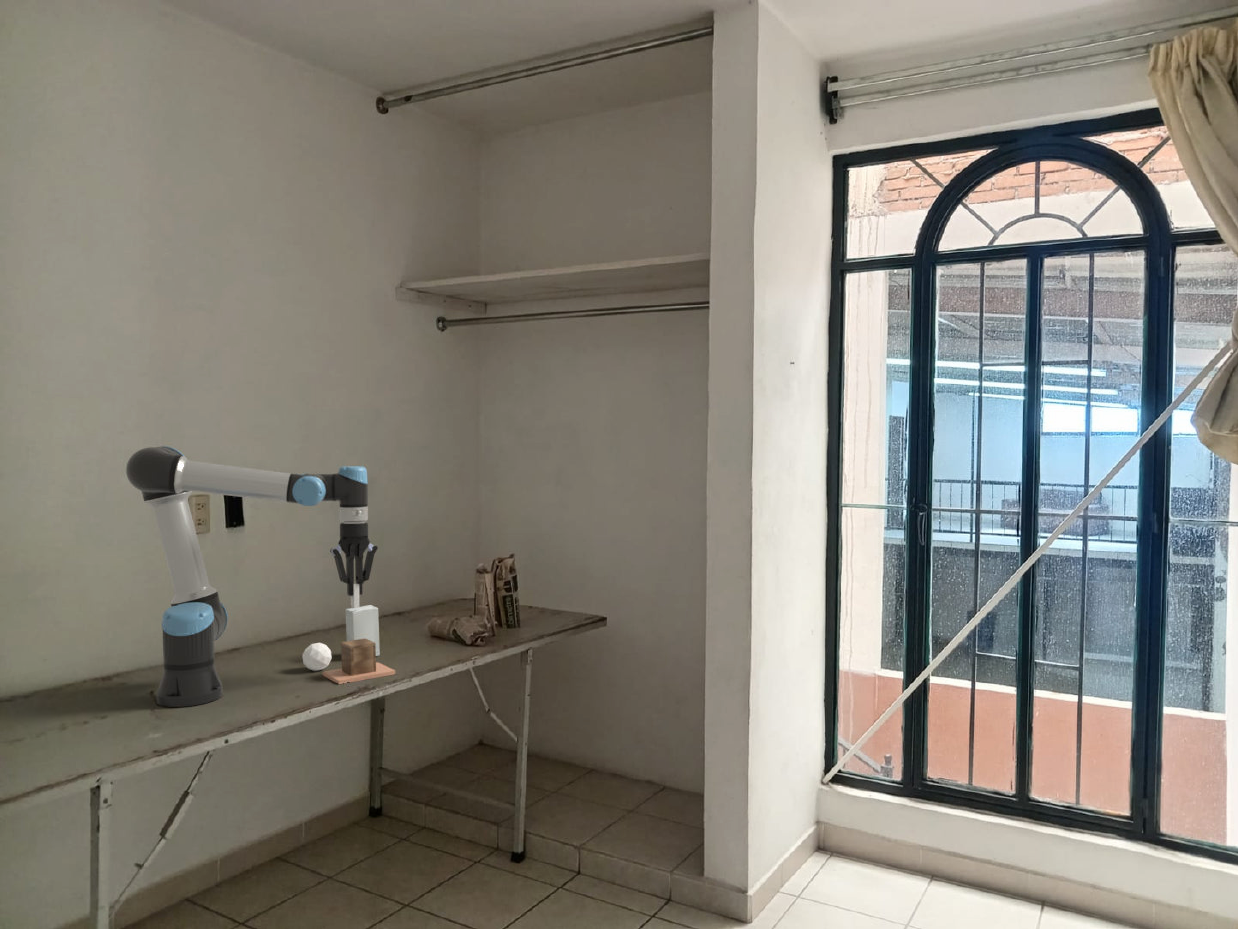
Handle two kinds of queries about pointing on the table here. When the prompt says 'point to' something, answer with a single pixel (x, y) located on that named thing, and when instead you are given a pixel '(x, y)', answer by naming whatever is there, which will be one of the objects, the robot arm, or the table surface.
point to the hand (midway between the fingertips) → (355, 606)
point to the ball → (317, 656)
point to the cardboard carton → (358, 656)
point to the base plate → (343, 677)
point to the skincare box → (363, 624)
